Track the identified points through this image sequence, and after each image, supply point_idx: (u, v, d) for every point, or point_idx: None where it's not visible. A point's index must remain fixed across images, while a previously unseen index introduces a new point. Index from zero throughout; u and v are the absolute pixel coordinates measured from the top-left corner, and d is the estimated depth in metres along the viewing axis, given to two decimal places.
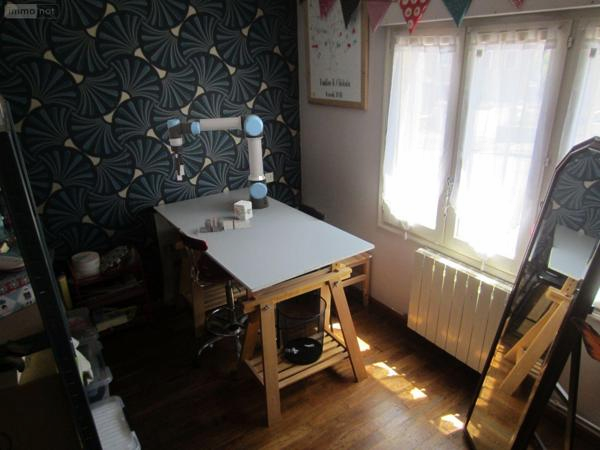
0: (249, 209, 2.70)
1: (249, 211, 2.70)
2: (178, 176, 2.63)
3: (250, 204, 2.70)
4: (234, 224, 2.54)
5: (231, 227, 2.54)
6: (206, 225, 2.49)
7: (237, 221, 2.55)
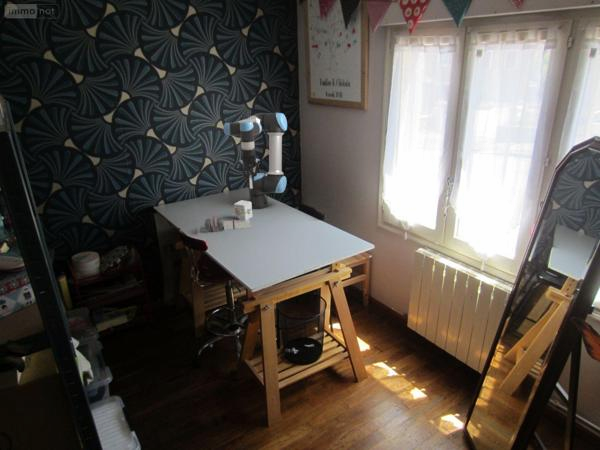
0: (249, 209, 2.70)
1: (249, 211, 2.70)
2: (249, 183, 2.49)
3: (250, 204, 2.70)
4: (234, 224, 2.54)
5: (231, 227, 2.54)
6: (206, 225, 2.49)
7: (237, 221, 2.55)
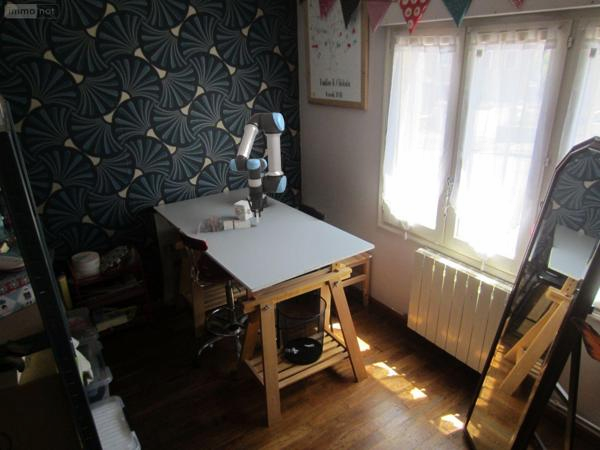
0: (249, 209, 2.70)
1: (249, 211, 2.70)
2: (256, 218, 2.57)
3: None
4: (234, 224, 2.54)
5: (231, 227, 2.54)
6: (206, 225, 2.49)
7: (237, 221, 2.55)
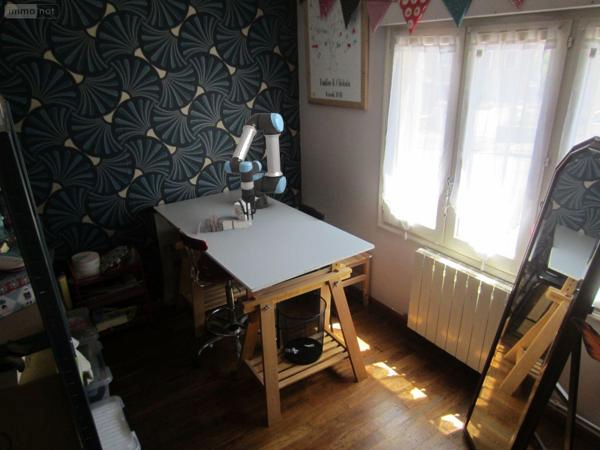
0: (249, 209, 2.70)
1: (249, 211, 2.70)
2: (249, 220, 2.57)
3: None
4: (233, 224, 2.54)
5: (230, 227, 2.54)
6: (206, 225, 2.49)
7: (236, 221, 2.55)
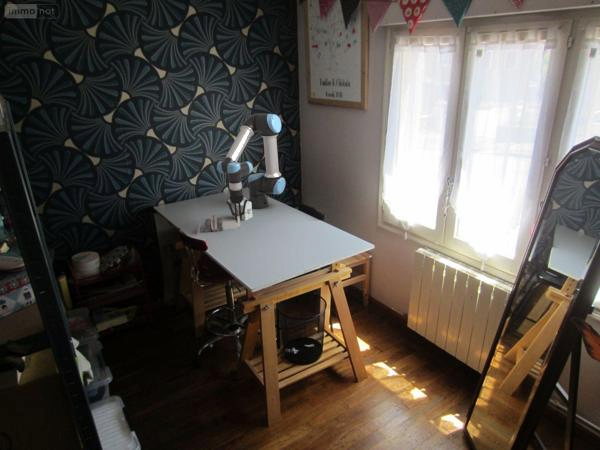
0: (249, 209, 2.70)
1: (249, 211, 2.70)
2: None
3: (250, 204, 2.70)
4: (222, 225, 2.53)
5: None
6: (206, 225, 2.49)
7: (225, 222, 2.54)
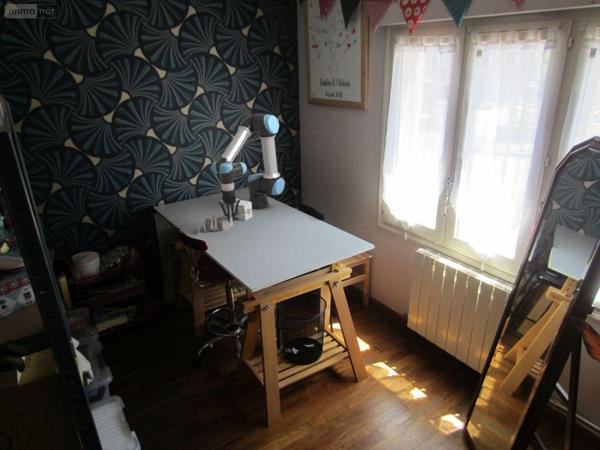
0: (249, 209, 2.70)
1: (249, 211, 2.70)
2: (230, 222, 2.56)
3: (250, 204, 2.70)
4: (214, 226, 2.52)
5: (211, 229, 2.53)
6: (206, 225, 2.49)
7: None
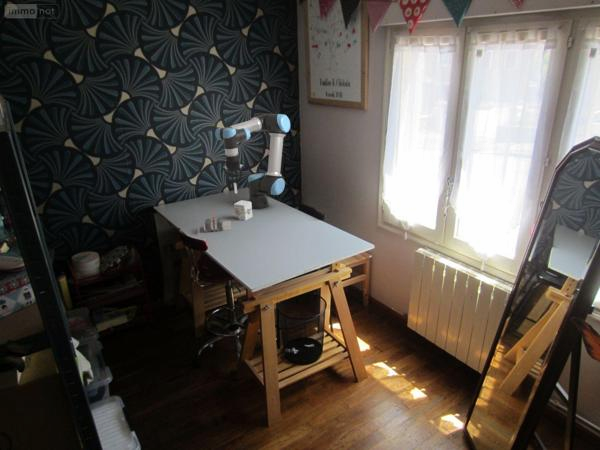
0: (249, 209, 2.70)
1: (249, 211, 2.70)
2: (234, 188, 2.54)
3: (250, 204, 2.70)
4: (214, 226, 2.52)
5: (211, 229, 2.53)
6: (206, 225, 2.49)
7: None
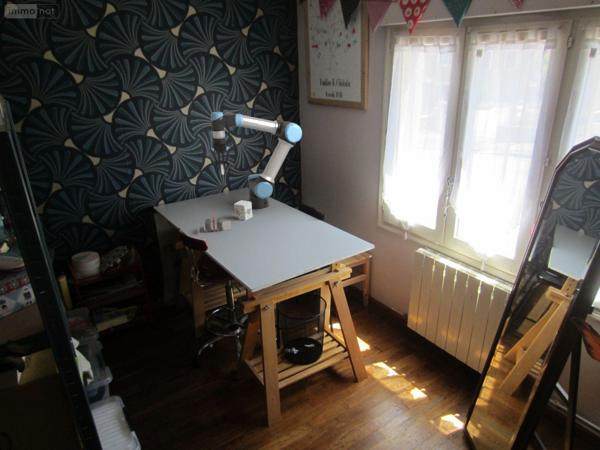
0: (249, 209, 2.70)
1: (249, 211, 2.70)
2: (221, 170, 2.68)
3: (250, 204, 2.70)
4: (214, 226, 2.52)
5: (211, 229, 2.53)
6: (206, 225, 2.49)
7: None
